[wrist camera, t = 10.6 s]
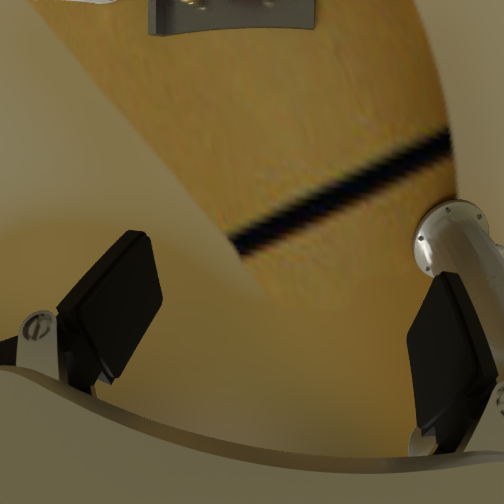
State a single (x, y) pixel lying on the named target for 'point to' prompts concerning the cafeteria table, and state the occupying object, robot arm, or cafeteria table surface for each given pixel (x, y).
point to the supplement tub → (95, 1)
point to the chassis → (227, 15)
